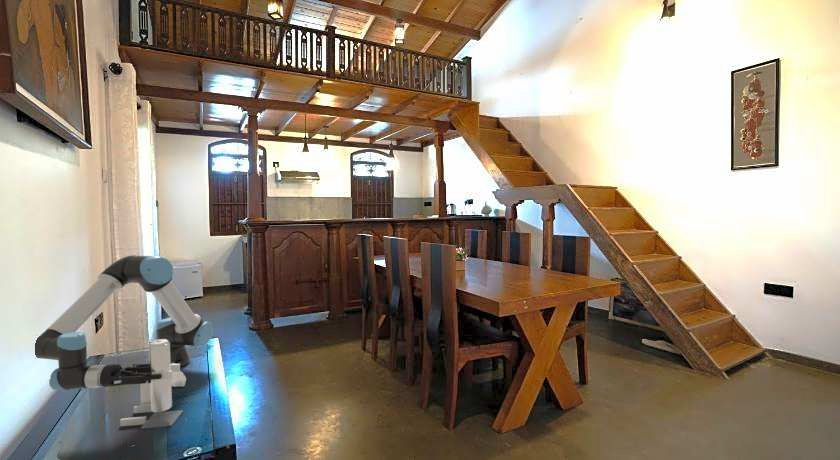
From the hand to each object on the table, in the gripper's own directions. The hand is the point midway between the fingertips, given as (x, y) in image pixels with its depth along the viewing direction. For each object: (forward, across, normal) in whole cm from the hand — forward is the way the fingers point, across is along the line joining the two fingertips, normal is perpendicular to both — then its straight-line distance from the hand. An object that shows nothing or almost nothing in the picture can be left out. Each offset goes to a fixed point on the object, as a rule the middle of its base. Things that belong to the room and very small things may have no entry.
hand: (175, 371), depth 145 cm
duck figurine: (-12, -30, -18) cm, 37 cm away
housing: (-14, -9, -18) cm, 25 cm away
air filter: (-5, 0, -14) cm, 15 cm away
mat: (-5, 0, -18) cm, 19 cm away
